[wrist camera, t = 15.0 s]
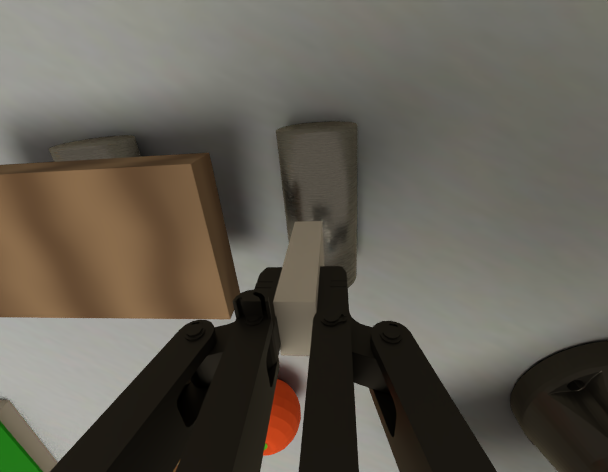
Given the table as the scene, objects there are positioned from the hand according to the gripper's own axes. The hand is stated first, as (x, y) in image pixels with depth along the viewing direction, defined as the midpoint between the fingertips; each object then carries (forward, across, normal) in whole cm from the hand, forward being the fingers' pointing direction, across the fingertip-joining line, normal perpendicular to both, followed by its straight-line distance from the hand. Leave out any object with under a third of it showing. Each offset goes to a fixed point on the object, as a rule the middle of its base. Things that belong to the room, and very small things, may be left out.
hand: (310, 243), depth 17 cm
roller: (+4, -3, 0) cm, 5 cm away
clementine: (+8, +6, +22) cm, 24 cm away
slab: (+2, +14, 0) cm, 15 cm away
